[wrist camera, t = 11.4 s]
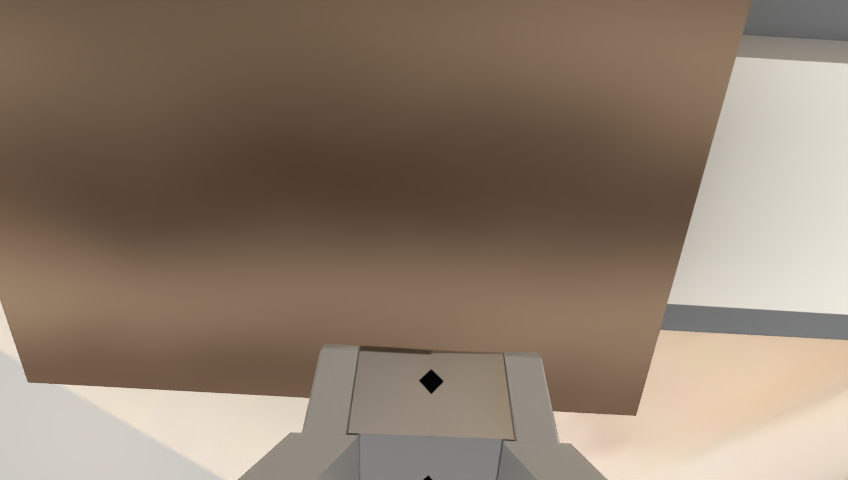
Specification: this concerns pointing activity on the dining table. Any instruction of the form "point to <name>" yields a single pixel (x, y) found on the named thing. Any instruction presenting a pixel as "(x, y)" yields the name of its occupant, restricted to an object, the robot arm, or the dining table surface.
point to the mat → (777, 17)
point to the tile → (774, 185)
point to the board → (350, 184)
